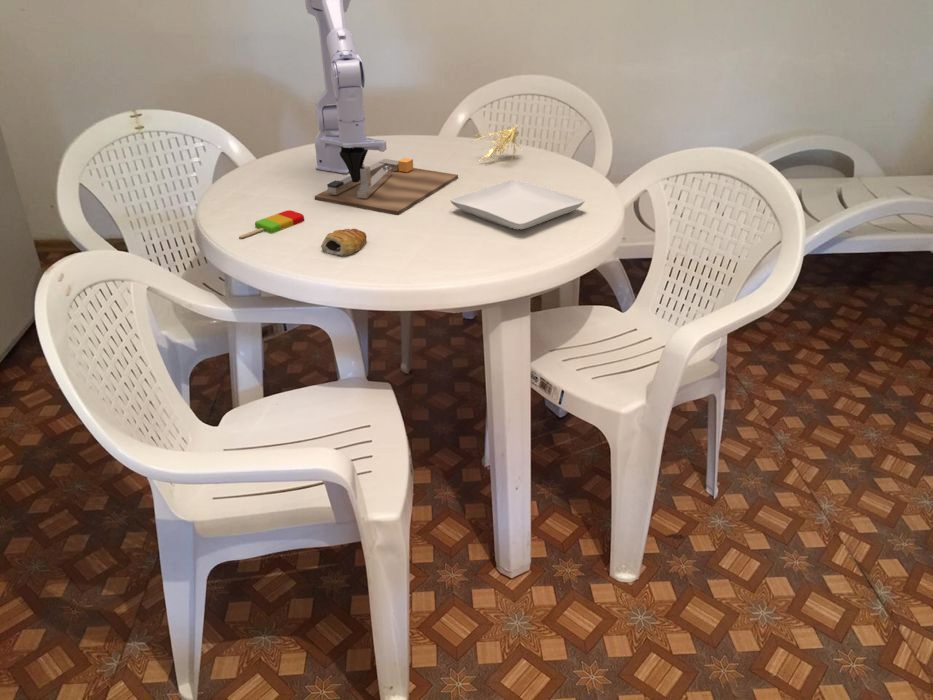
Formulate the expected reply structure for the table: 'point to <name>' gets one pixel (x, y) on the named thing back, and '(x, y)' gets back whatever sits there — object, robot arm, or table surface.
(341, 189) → the tongs frame
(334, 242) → the pastry
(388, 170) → the bar
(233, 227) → the table surface
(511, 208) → the salad plate
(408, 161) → the orange block
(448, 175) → the walnut board
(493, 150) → the crumpled gold foil
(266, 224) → the popsicle
